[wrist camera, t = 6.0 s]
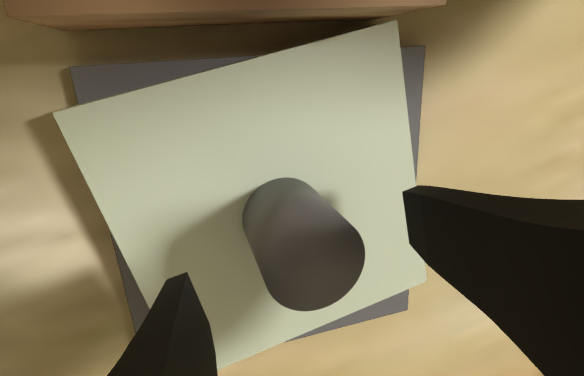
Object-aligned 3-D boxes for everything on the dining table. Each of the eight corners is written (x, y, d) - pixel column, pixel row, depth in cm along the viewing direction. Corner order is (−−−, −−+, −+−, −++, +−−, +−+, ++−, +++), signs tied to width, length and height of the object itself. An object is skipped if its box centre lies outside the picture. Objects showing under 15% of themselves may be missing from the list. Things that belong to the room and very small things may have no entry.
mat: (418, 46, 14) (425, 46, 14) (402, 305, 18) (407, 309, 18) (72, 66, 11) (69, 66, 11) (147, 370, 15) (147, 378, 15)
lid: (384, 21, 13) (474, 6, 9) (416, 271, 17) (486, 333, 13) (59, 109, 11) (-3, 137, 7) (186, 368, 15) (189, 473, 11)
